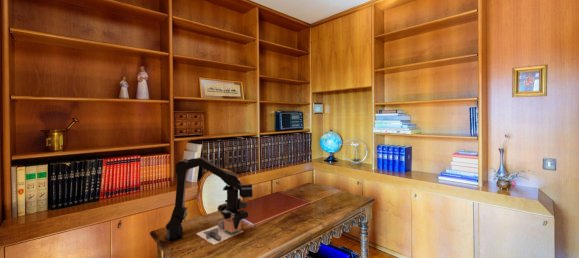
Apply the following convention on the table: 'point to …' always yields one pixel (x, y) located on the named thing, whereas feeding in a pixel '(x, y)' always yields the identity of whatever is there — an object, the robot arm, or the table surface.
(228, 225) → the salmon orange cube
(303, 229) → the table surface
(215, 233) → the t key
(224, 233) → the panel
